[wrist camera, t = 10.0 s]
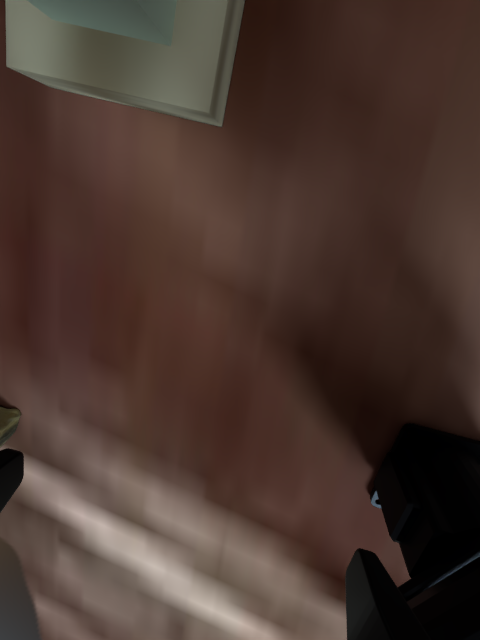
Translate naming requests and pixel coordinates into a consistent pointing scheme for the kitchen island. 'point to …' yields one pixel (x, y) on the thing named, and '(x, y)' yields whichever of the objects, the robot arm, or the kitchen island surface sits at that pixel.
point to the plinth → (133, 59)
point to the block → (116, 16)
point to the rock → (8, 423)
